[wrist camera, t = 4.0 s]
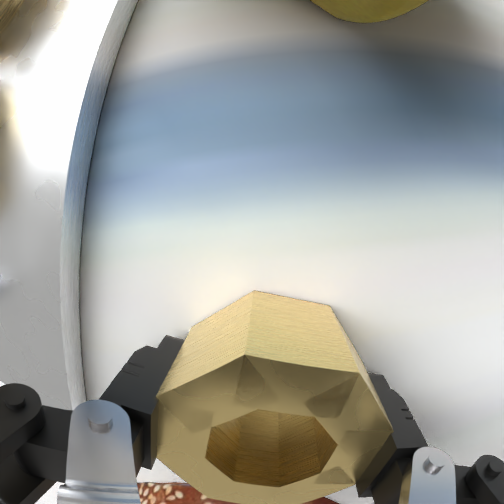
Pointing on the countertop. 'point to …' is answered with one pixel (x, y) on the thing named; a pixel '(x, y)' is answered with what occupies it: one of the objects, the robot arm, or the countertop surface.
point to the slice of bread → (186, 495)
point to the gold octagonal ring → (269, 405)
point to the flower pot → (368, 9)
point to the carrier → (48, 180)
